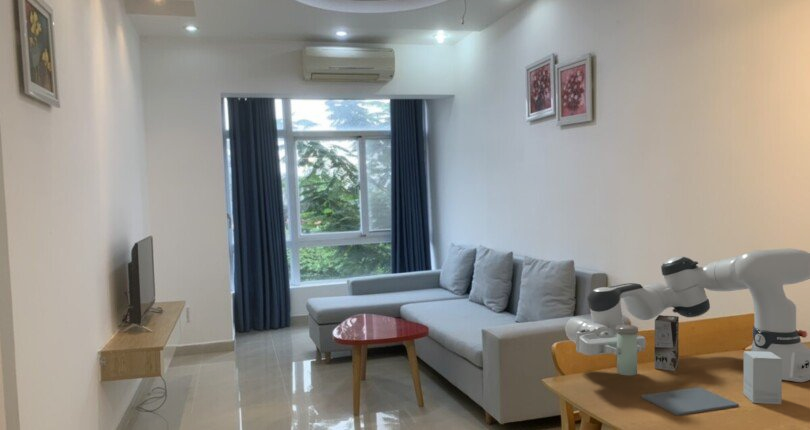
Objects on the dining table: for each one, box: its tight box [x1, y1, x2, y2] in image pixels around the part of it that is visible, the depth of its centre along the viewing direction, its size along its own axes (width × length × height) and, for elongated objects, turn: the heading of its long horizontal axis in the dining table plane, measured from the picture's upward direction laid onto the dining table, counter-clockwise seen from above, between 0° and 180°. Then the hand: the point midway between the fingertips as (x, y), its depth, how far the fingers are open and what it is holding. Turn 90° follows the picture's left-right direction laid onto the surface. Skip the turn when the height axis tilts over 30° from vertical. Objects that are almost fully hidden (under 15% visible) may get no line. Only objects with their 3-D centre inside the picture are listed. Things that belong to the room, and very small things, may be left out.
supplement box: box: [743, 350, 783, 405], centre depth 163 cm, size 7×7×13 cm
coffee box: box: [654, 314, 680, 372], centre depth 194 cm, size 9×6×16 cm
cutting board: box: [640, 386, 740, 416], centre depth 163 cm, size 20×14×1 cm
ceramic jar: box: [616, 324, 639, 376], centre depth 170 cm, size 6×6×13 cm
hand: (628, 350), depth 170 cm, fingers closed on ceramic jar, 5 cm apart
